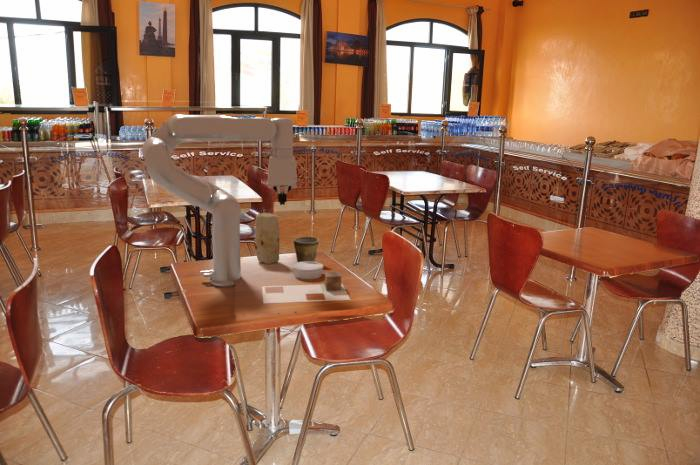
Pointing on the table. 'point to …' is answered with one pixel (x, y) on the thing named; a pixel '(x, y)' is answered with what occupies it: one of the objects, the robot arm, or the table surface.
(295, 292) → the trap deck
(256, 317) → the table surface
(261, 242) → the food model
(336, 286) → the walnut block
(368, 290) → the table surface
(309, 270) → the ramekin
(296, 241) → the ceramic cup
